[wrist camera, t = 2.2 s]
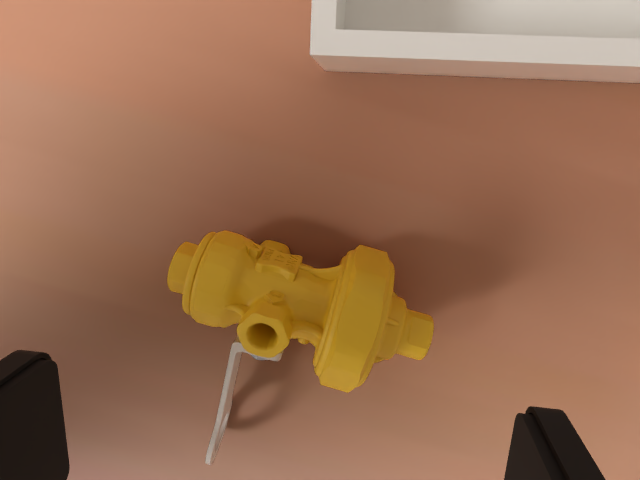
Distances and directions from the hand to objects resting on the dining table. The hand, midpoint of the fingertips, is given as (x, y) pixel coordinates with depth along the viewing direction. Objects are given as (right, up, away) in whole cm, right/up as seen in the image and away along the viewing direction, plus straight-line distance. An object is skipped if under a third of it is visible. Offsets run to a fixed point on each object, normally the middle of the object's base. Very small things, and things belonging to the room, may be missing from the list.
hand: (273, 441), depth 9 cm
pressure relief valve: (0, -1, +12) cm, 13 cm away
